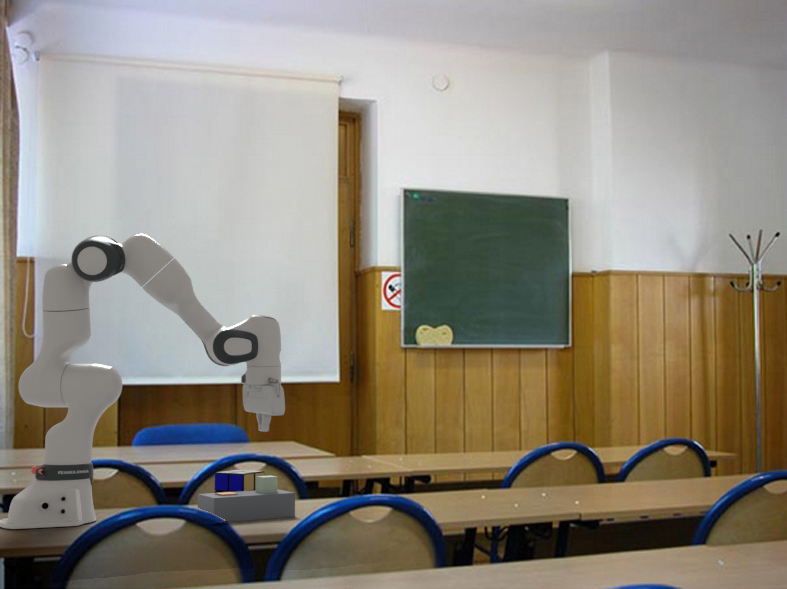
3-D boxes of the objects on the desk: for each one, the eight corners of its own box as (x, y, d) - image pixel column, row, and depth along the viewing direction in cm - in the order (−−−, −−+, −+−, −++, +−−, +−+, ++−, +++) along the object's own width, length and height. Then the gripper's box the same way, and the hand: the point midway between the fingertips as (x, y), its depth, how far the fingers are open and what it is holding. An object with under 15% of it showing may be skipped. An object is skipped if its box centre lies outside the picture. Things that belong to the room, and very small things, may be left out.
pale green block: (262, 500, 238) (262, 477, 239) (255, 498, 242) (256, 476, 242) (277, 499, 240) (277, 476, 241) (270, 497, 244) (270, 475, 245)
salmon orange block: (221, 518, 232) (221, 494, 233) (215, 516, 236) (215, 492, 236) (237, 516, 234) (237, 493, 235) (230, 514, 238) (231, 491, 238)
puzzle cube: (213, 509, 255) (214, 472, 256) (235, 505, 264) (236, 469, 265) (243, 511, 250) (243, 473, 251) (264, 507, 259) (265, 470, 260)
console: (213, 523, 227) (214, 498, 228) (197, 517, 237) (198, 493, 237) (294, 516, 239) (295, 492, 239) (276, 511, 248) (276, 489, 249)
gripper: (291, 378, 234) (291, 433, 233) (260, 376, 251) (260, 427, 251) (267, 379, 231) (267, 435, 230) (238, 376, 248) (238, 428, 248)
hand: (263, 431), depth 240 cm, fingers closed
